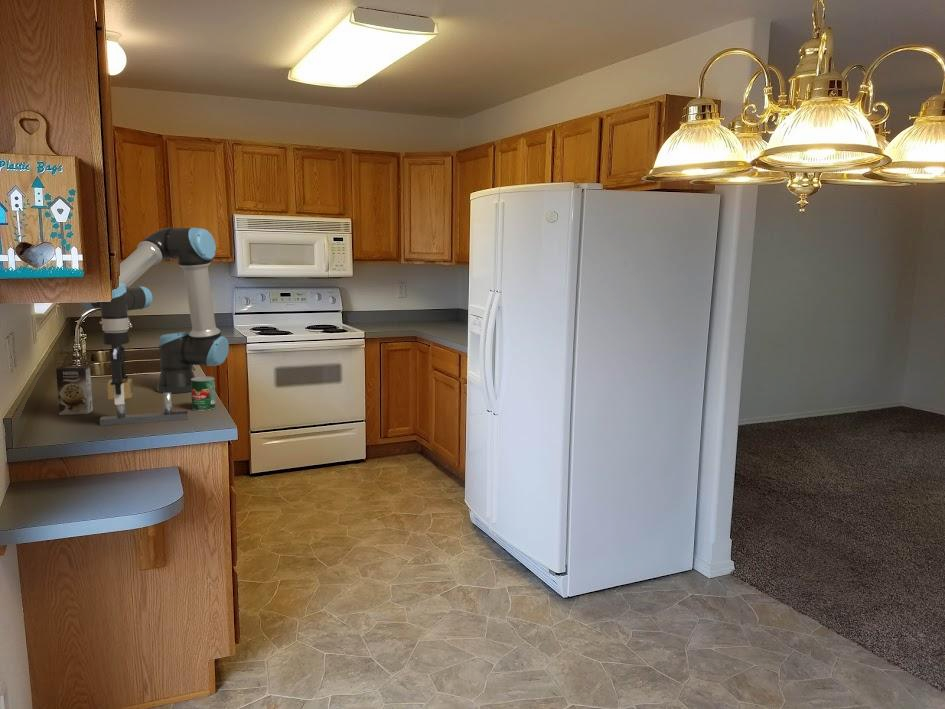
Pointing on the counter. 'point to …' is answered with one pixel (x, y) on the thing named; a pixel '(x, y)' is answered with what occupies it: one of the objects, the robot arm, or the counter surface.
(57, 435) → the counter surface
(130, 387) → the collar
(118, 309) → the robot arm
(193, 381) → the canned tomato
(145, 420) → the grey peg stand
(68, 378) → the cookie box
